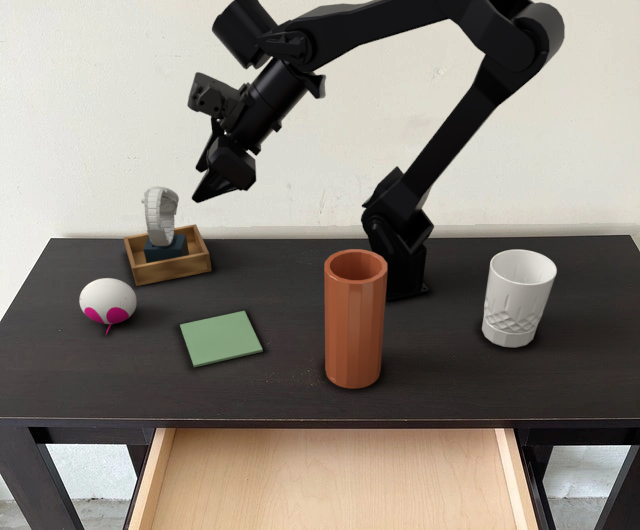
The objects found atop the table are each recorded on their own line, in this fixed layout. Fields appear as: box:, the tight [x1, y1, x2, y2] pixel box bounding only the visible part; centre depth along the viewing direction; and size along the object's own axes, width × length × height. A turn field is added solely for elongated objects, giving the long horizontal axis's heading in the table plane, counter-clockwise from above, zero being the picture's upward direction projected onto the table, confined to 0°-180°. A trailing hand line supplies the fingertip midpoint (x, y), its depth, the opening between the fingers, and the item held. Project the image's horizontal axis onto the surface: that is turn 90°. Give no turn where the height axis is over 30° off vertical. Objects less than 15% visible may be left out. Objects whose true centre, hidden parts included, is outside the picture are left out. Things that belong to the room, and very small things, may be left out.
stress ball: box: [77, 277, 138, 335], centre depth 89 cm, size 8×8×7 cm
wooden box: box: [123, 224, 213, 287], centre depth 99 cm, size 11×9×3 cm
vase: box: [323, 248, 387, 390], centre depth 77 cm, size 7×7×15 cm
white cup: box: [481, 249, 558, 348], centre depth 83 cm, size 8×8×10 cm
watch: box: [140, 185, 189, 263], centre depth 96 cm, size 6×8×11 cm
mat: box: [179, 310, 264, 368], centre depth 87 cm, size 9×9×1 cm
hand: (196, 185), depth 92 cm, fingers open, 9 cm apart
